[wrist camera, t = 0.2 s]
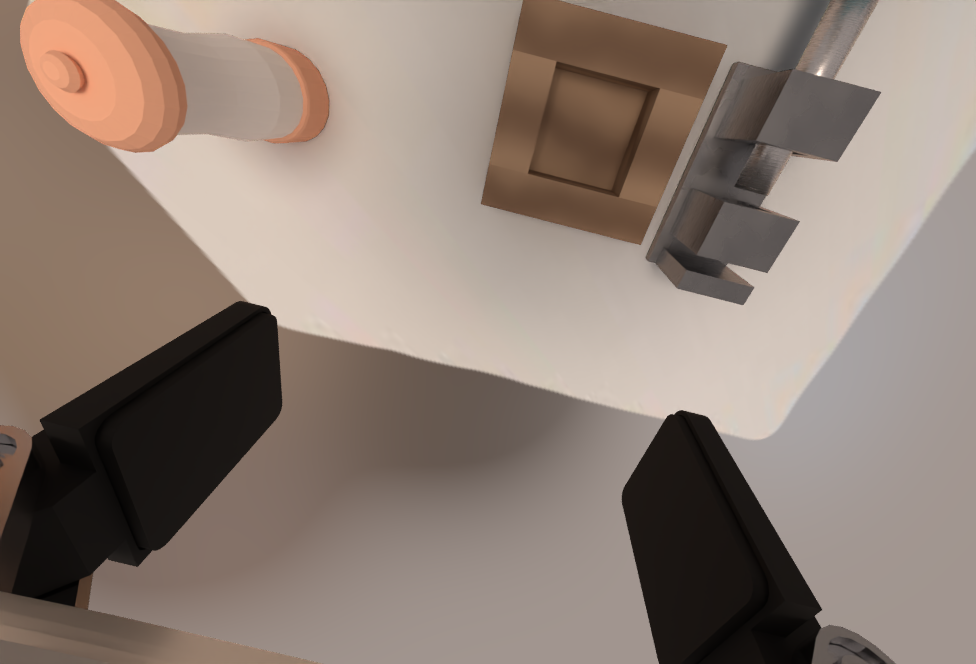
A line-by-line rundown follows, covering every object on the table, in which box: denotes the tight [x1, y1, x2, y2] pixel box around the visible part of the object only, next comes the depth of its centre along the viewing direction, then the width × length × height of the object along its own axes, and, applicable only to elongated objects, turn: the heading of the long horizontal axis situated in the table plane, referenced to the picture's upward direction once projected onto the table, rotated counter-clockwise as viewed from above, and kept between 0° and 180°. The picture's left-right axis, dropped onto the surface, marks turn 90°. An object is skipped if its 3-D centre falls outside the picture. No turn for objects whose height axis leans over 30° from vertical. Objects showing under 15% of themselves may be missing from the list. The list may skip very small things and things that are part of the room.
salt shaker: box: [20, 0, 329, 153], centre depth 26 cm, size 7×7×19 cm
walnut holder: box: [481, 0, 727, 245], centre depth 31 cm, size 14×14×4 cm
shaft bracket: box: [646, 62, 881, 305], centre depth 30 cm, size 16×7×8 cm, turn 167°
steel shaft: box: [734, 0, 879, 196], centre depth 25 cm, size 17×5×5 cm, turn 167°
